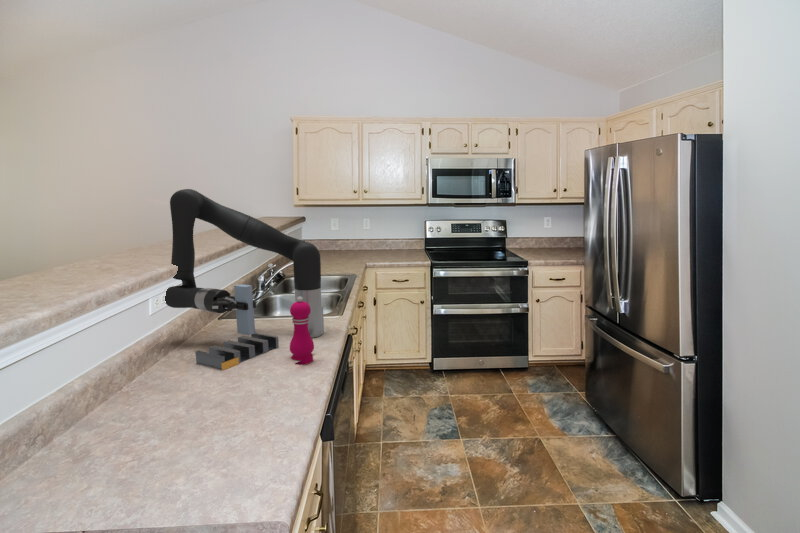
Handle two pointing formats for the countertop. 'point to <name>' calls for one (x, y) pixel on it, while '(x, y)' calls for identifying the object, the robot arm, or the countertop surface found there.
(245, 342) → the rack
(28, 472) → the countertop surface
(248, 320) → the panel
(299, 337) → the pepper mill
